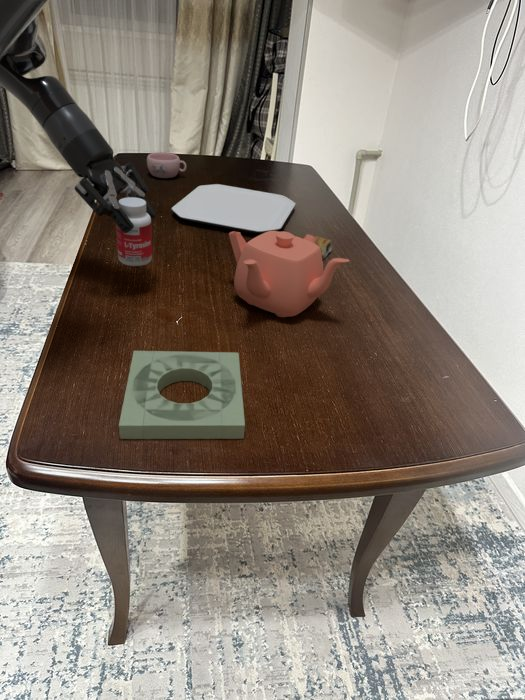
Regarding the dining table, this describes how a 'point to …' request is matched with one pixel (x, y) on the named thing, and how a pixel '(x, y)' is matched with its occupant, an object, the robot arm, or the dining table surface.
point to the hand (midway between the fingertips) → (141, 224)
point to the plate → (235, 208)
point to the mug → (164, 164)
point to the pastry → (323, 246)
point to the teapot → (281, 271)
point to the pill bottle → (135, 234)
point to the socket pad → (183, 418)
